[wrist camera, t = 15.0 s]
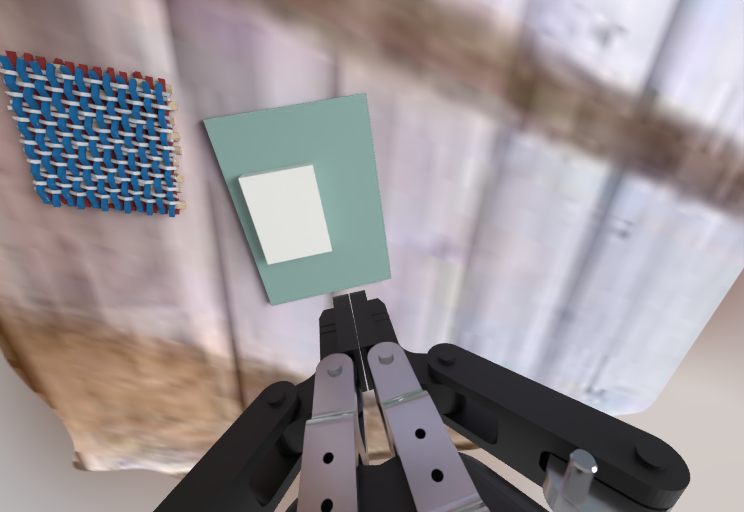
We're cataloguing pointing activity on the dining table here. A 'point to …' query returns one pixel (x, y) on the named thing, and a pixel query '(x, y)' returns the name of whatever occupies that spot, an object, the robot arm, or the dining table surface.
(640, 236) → the dining table surface
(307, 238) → the rectangular block
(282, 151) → the mat
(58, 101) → the woven mat
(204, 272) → the dining table surface
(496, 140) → the dining table surface
